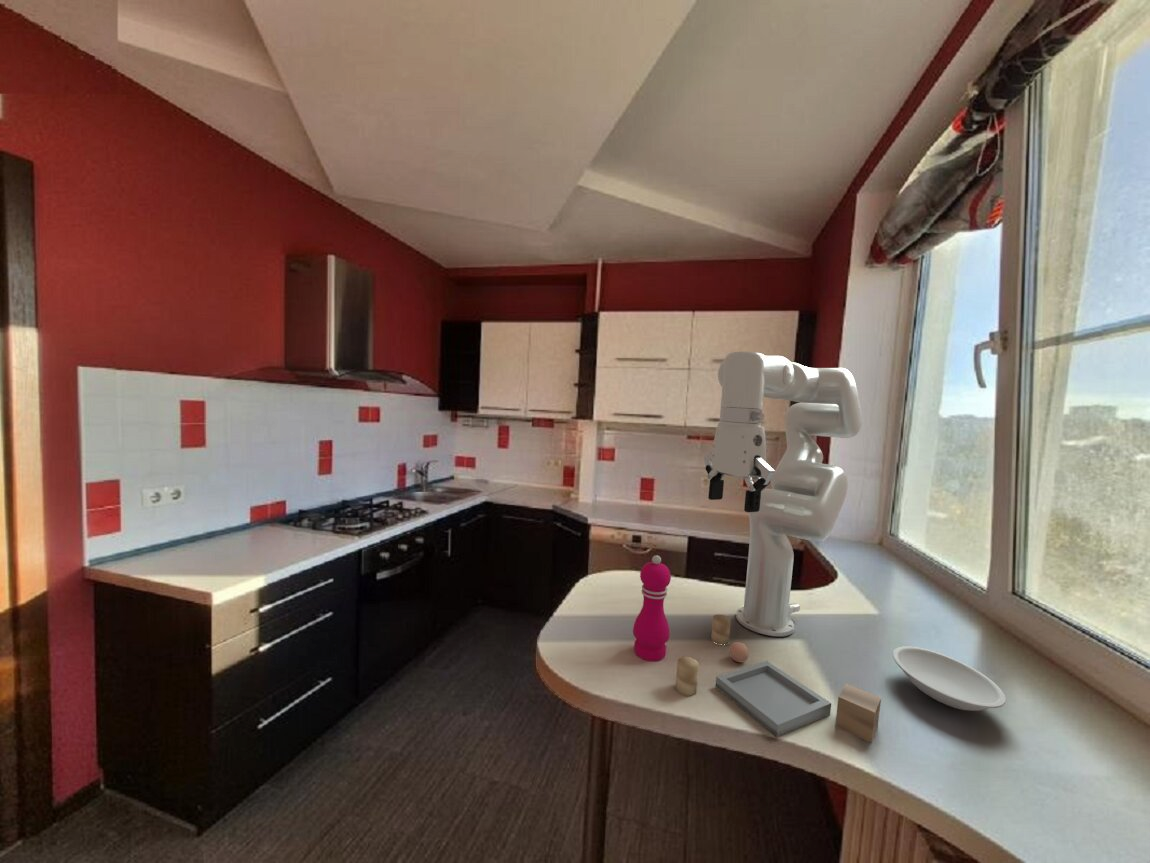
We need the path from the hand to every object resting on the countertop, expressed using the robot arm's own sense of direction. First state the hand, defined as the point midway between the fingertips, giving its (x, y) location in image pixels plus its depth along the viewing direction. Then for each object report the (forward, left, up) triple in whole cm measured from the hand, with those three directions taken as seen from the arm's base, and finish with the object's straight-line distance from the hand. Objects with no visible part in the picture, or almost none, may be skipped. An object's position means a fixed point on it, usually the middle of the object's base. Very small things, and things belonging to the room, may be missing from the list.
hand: (732, 505), depth 88 cm
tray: (+1, +13, -31) cm, 34 cm away
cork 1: (+13, +5, -31) cm, 34 cm away
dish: (-29, +25, -31) cm, 50 cm away
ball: (-3, +2, -29) cm, 30 cm away
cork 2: (-5, -5, -31) cm, 32 cm away
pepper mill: (+12, -7, -31) cm, 34 cm away
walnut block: (-7, +23, -31) cm, 40 cm away
